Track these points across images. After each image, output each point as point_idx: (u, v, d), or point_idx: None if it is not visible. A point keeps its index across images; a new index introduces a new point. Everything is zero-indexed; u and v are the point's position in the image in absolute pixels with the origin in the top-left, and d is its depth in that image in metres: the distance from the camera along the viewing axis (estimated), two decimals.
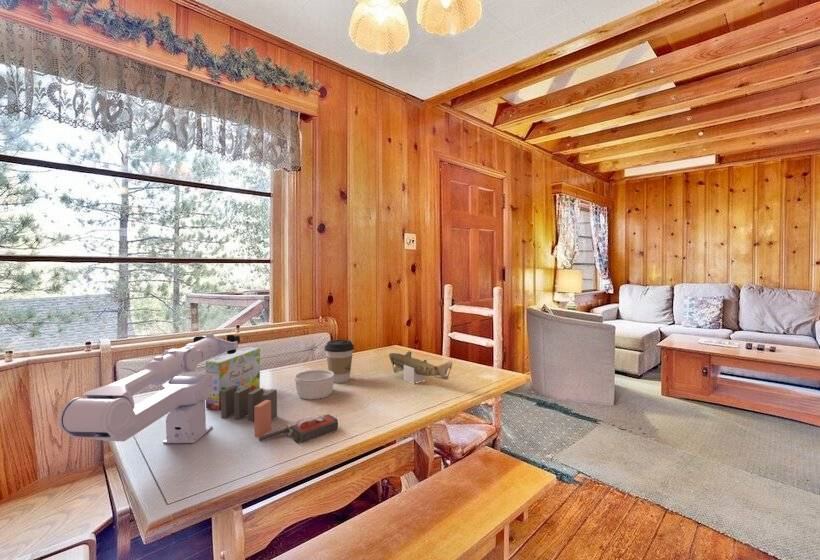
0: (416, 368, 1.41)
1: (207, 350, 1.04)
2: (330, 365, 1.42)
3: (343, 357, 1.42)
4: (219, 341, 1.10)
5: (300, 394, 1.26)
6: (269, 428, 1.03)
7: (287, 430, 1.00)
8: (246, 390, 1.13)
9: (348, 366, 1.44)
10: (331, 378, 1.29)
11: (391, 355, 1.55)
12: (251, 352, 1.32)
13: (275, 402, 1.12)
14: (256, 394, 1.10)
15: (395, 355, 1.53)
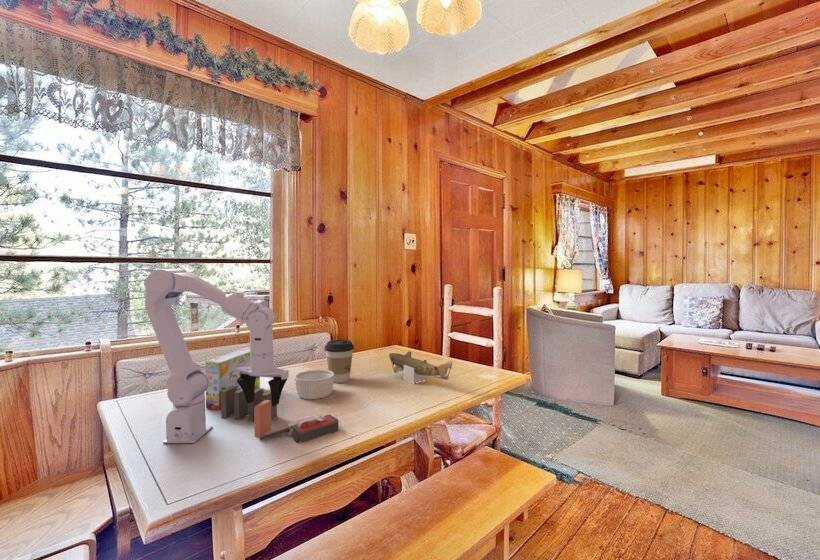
0: (416, 368, 1.41)
1: (260, 349, 0.98)
2: (330, 365, 1.42)
3: (343, 357, 1.42)
4: (274, 369, 1.02)
5: (300, 394, 1.26)
6: (269, 428, 1.03)
7: (288, 430, 1.01)
8: None
9: (348, 366, 1.44)
10: (331, 378, 1.29)
11: (391, 355, 1.55)
12: None
13: None
14: (256, 394, 1.10)
15: (395, 355, 1.53)
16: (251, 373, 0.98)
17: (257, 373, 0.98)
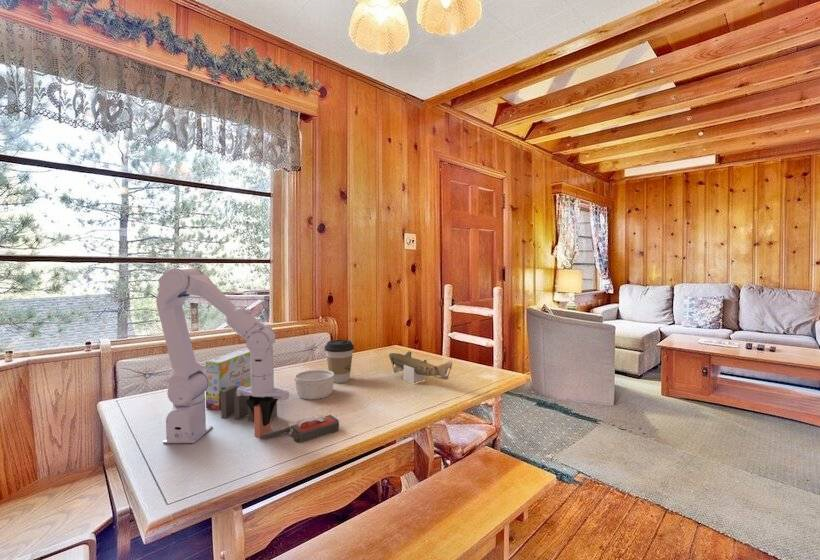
0: (416, 368, 1.41)
1: (260, 370, 0.98)
2: (330, 365, 1.42)
3: (343, 357, 1.42)
4: (274, 389, 1.02)
5: (300, 394, 1.26)
6: (269, 427, 1.03)
7: (288, 429, 1.01)
8: None
9: (348, 366, 1.44)
10: (331, 378, 1.29)
11: (391, 355, 1.55)
12: None
13: None
14: None
15: (395, 355, 1.53)
16: (251, 394, 0.99)
17: (257, 394, 0.98)
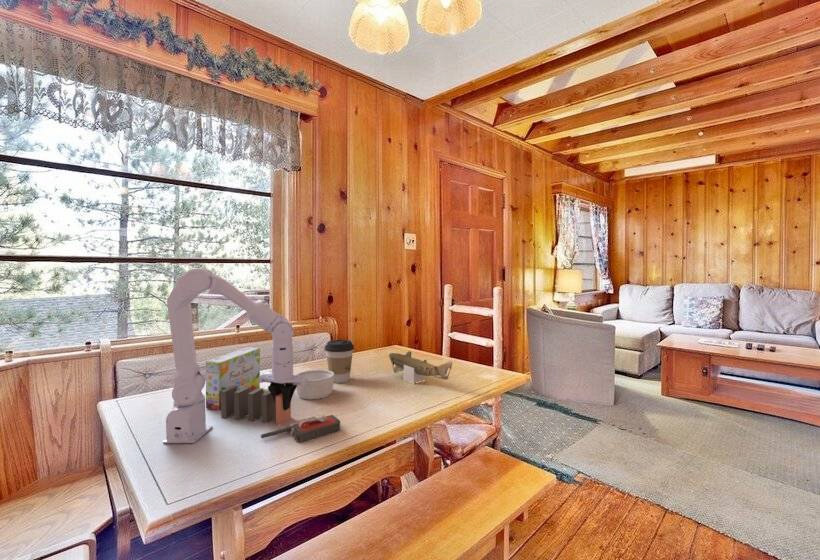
0: (416, 368, 1.41)
1: (285, 357, 1.06)
2: (330, 365, 1.42)
3: (343, 357, 1.42)
4: (294, 376, 1.09)
5: (300, 394, 1.26)
6: (289, 416, 1.11)
7: (290, 429, 1.01)
8: (246, 390, 1.13)
9: (348, 366, 1.44)
10: (331, 378, 1.29)
11: (391, 355, 1.55)
12: (251, 352, 1.32)
13: None
14: (256, 394, 1.10)
15: (395, 355, 1.53)
16: (273, 380, 1.06)
17: (279, 380, 1.06)
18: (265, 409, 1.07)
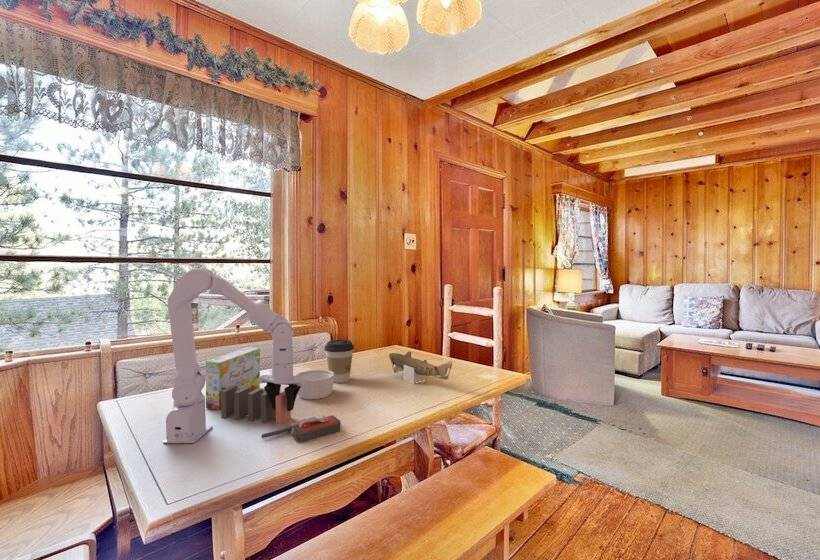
0: (416, 368, 1.41)
1: (285, 358, 1.06)
2: (330, 365, 1.42)
3: (343, 357, 1.42)
4: (294, 377, 1.09)
5: (300, 394, 1.26)
6: (289, 416, 1.11)
7: (290, 429, 1.01)
8: (246, 390, 1.13)
9: (348, 366, 1.44)
10: (331, 378, 1.29)
11: (391, 355, 1.55)
12: (251, 352, 1.32)
13: None
14: (256, 394, 1.10)
15: (395, 355, 1.53)
16: (273, 381, 1.06)
17: (278, 381, 1.06)
18: (264, 409, 1.08)
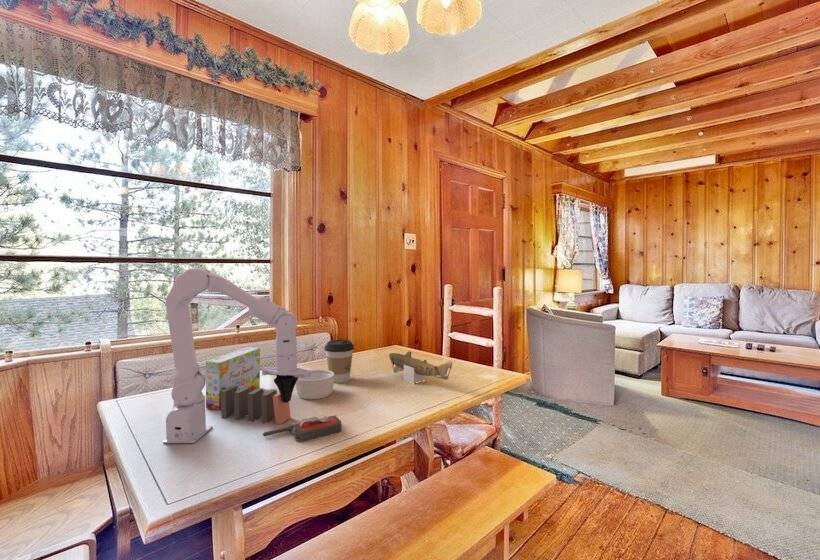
0: (416, 368, 1.41)
1: (288, 350, 1.05)
2: (330, 365, 1.42)
3: (343, 357, 1.42)
4: (297, 369, 1.09)
5: (300, 394, 1.26)
6: (288, 416, 1.11)
7: (292, 428, 1.02)
8: (246, 390, 1.13)
9: (348, 366, 1.44)
10: (331, 378, 1.29)
11: (391, 355, 1.55)
12: (251, 352, 1.32)
13: None
14: (256, 394, 1.10)
15: (395, 355, 1.53)
16: (276, 373, 1.06)
17: (282, 373, 1.05)
18: (265, 409, 1.07)
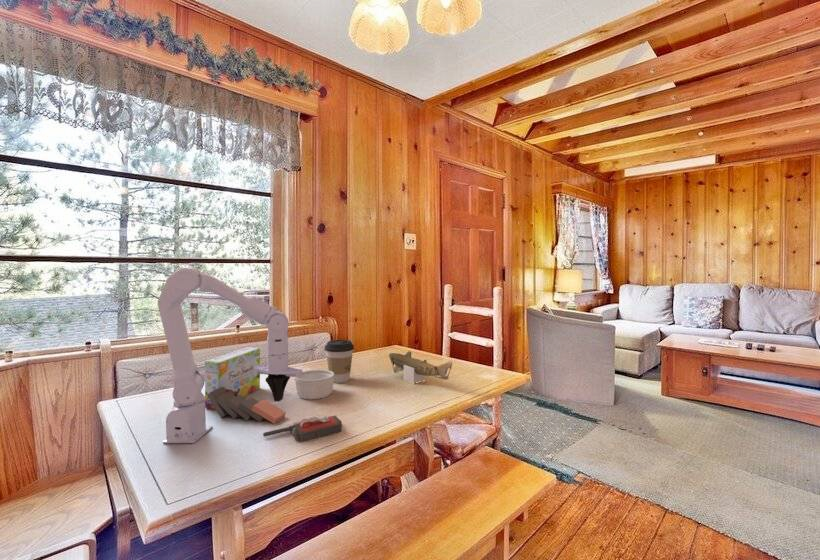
0: (416, 368, 1.41)
1: (280, 349, 1.06)
2: (330, 365, 1.42)
3: (343, 357, 1.42)
4: (289, 368, 1.10)
5: (300, 394, 1.26)
6: (282, 412, 1.11)
7: (292, 428, 1.02)
8: (227, 393, 1.14)
9: (348, 366, 1.44)
10: (331, 378, 1.29)
11: (391, 355, 1.55)
12: (251, 352, 1.32)
13: None
14: (235, 399, 1.12)
15: (395, 355, 1.53)
16: (268, 372, 1.06)
17: (274, 372, 1.06)
18: (250, 411, 1.09)
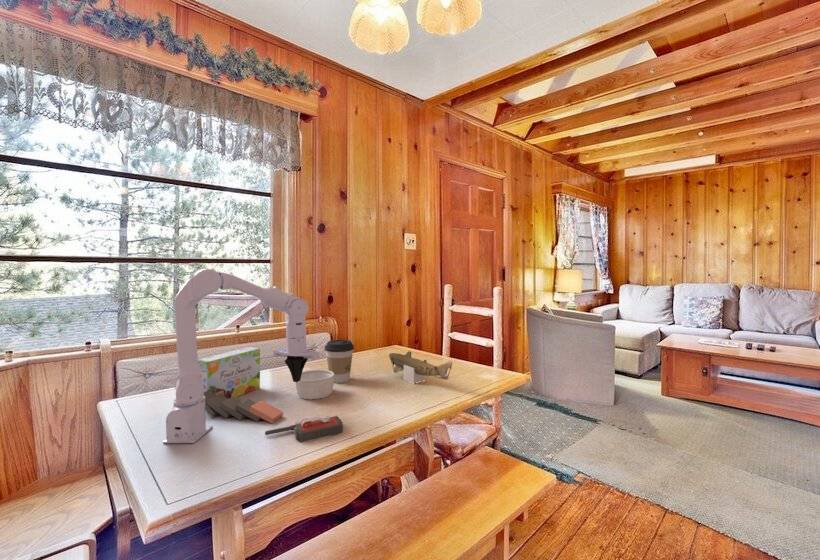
0: (416, 368, 1.41)
1: (300, 332, 1.13)
2: (330, 365, 1.42)
3: (343, 357, 1.42)
4: (307, 351, 1.16)
5: (300, 394, 1.26)
6: (280, 411, 1.11)
7: (294, 427, 1.02)
8: (217, 396, 1.15)
9: (348, 366, 1.44)
10: (331, 378, 1.29)
11: (391, 355, 1.55)
12: (248, 352, 1.32)
13: None
14: (228, 401, 1.13)
15: (395, 355, 1.53)
16: (287, 354, 1.13)
17: (293, 354, 1.12)
18: (247, 412, 1.09)
